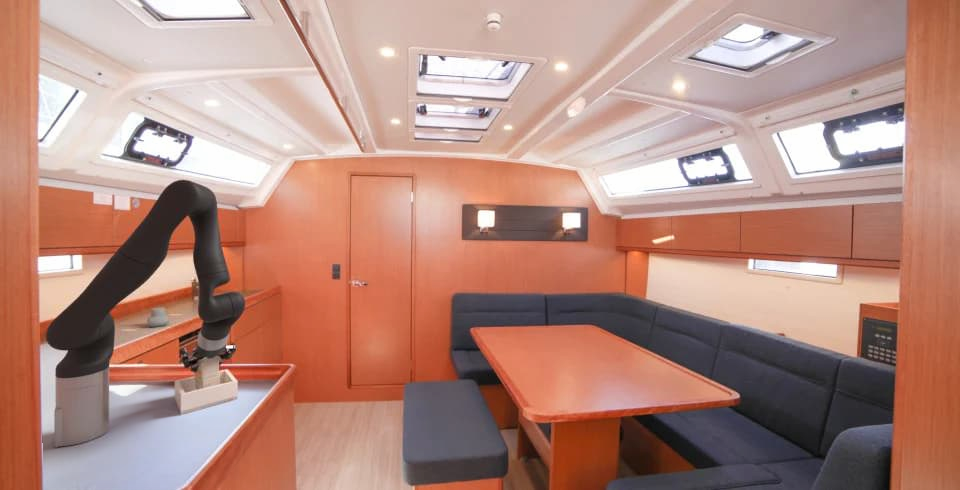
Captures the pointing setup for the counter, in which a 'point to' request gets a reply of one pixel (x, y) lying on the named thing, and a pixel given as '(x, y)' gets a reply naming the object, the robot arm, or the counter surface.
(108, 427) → the robot arm
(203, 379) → the supplement box
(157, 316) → the air freshener
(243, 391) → the counter surface
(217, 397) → the bin
